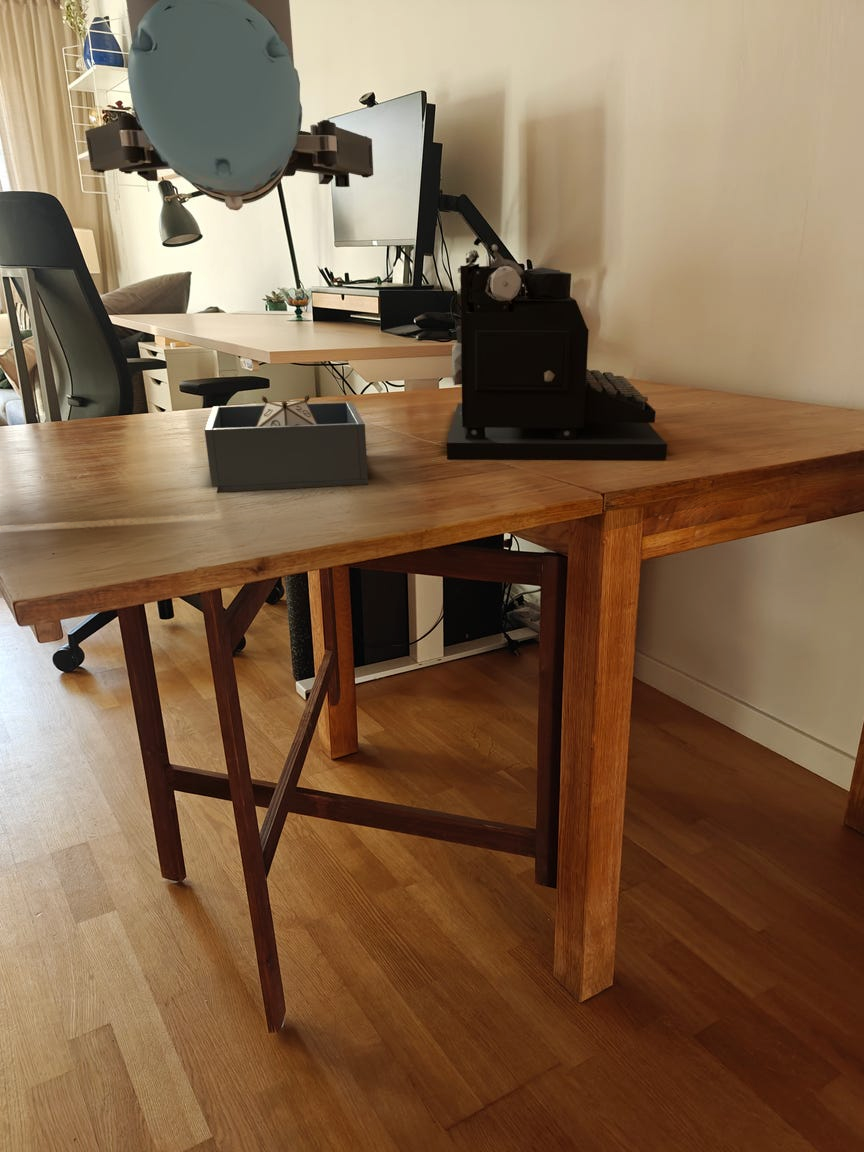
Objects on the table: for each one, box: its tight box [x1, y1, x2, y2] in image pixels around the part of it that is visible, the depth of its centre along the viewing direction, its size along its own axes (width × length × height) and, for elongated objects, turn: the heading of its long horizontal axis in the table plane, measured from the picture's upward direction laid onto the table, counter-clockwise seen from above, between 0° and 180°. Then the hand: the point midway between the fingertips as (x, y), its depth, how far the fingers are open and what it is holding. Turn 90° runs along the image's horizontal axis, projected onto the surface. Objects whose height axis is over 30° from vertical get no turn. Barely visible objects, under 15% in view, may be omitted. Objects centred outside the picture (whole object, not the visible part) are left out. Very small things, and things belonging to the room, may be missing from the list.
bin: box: [204, 401, 369, 493], centre depth 99 cm, size 17×16×7 cm
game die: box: [256, 394, 317, 427], centre depth 99 cm, size 9×8×10 cm
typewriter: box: [446, 237, 668, 461], centre depth 116 cm, size 31×27×25 cm
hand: (238, 164), depth 70 cm, fingers open, 13 cm apart
